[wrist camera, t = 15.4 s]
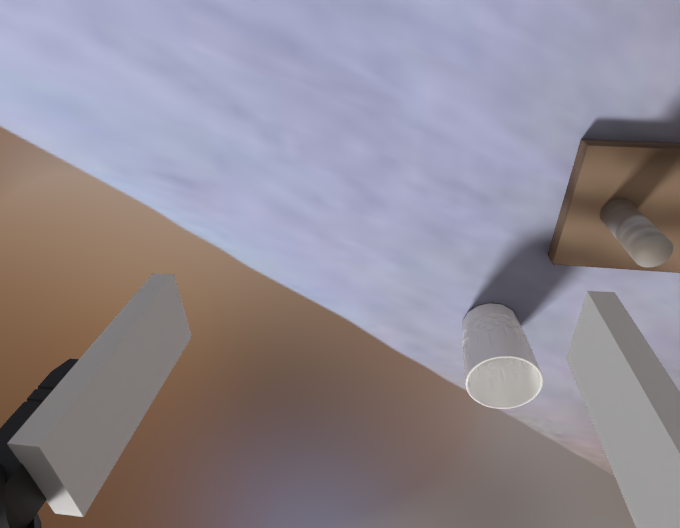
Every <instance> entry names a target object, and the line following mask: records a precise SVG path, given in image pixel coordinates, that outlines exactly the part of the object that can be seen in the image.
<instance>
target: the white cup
mask: <svg viewBox="0 0 680 528" xmlns="http://www.w3.org/2000/svg"><path fill="white" fill-rule="evenodd" d="M462 327H463V339H462V342H463V359H464V370H465V383H466V389H467V392H468V393H469V395H470V396H471V397H472V398H473V399H474V400H475V401H476V402H478V403H480V404H482V405H484V406H487V407H491V408H498V409H507V408H514V407H518V406H521V405H524V404H526V403H528V402H529V401H531V400H532V399H534V398H535V397H536V396H537V395H538V394H539V392H540V390H541V388H542V385H543V376H542V373H541V371H540V369H539V366H538V364H537V361H536V359H535V357H534V354H533V352H532V349H531V347H530V344H529V342H528V340H527V337H526V335H525V333H524V331H523V329H522V327H521V326H520V323H519V321H518V319H517V317H516V315H515V314H514V312H513V311H512V310H511V309H509V308H507V307H506V306H504V305H500V304H493V303H488V304H484V305H479V306H477V307H475V308H474V309H472V310H471V311H469V312H468V313H467V315H466V316H465V318H464V320H463V321H462Z"/></svg>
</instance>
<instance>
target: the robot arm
mask: <svg viewBox="0 0 680 528" xmlns="http://www.w3.org/2000/svg"><path fill="white" fill-rule="evenodd" d="M191 337H192V336H191V333H190V329H189V325H188V322H187V319H186V315H185V311H184V308H183V304H182V301H181V297H180V294H179V290H178V287H177V283H176V280H175V276H174V275H172V274H152V275H151V276H150V277H149V279H148V280H147V281H146V282H145V283H144V284H143V286H142V287H141V288H140V289H139V290H138V291H137V293H136V294H135V295H134V296H133V298H132V299H131V300H130V301H129V302H128V303H127V305H125V307H124V308H123V309H122V310H121V311H120V313H119V314H118V315H117V316H116V317H115V318H114V320H113V321H112V322H111V323H110V324H109V325H108V327H107V328H106V329H105V330H104V331H103V332H102V333H101V335H100V336H99V337H98V338H97V339H96V340H95V342H94V343H93V344H92V345H91V346H90V347H89V349H88V350H87V351H86V352H85V353H84V354H83V356H82V357H81V358H80V359H79V360H78V359H69V360H67V361H66V362H65V363H63V364H62V365H60V366H59V367H57V368H56V369H54V370H53V371H52V372H51V373H50V374H49V375H48V376H47V377H46V378H45V379H44V380H43V382H42V383H41V384H40V385H39V386H38V389H35V390H34V391H33V393H32V394H31V395H30V396H29V397H28V398H27V402H24V403H23V404H22V405H21V406H20V407H19V408H18V409H17V411H15V413H14V414H13V415H12V416H11V417H10V418H9V419H8V420H7V422H6V423H5V424H4V425H3V426H2V427H1V428H0V528H42V526H41V520H40V518H39V515H38V514H37V512H38V511H39V509H40V508H41V507H42V505H43V504H44V502H45V501H47V502H48V504H49V505H50V507H51V508H52V510H53V511H54V512H55V514H64V515H74V516H81V517H84V515H85V513H86V512H87V510H88V508H89V507H90V505H91V503H92V502H93V500H94V498H95V497H96V495H97V493H98V492H99V490H100V488H101V487H102V485H103V483H104V482H105V480H106V478H107V477H108V475H109V473H110V472H111V470H112V468H113V467H114V465H115V463H116V462H117V460H118V458H119V457H120V455H121V453H122V452H123V450H124V448H125V447H126V445H127V443H128V442H129V440H130V438H131V437H132V435H133V433H134V432H135V430H136V428H137V427H138V425H139V423H140V422H141V420H142V418H143V417H144V415H145V413H146V412H147V410H148V408H149V407H150V405H151V403H152V402H153V400H154V398H155V397H156V395H157V393H158V392H159V390H160V388H161V387H162V385H163V383H164V382H165V380H166V378H167V377H168V375H169V373H170V372H171V370H172V368H173V367H174V365H175V363H176V362H177V360H178V358H179V357H180V355H181V353H182V352H183V350H184V348H185V347H186V345H187V343H188V342H189V340H190V338H191ZM566 359H567V362H568V364H569V367H570V369H571V371H572V374H573V376H574V379H575V381H576V384H577V386H578V388H579V391H580V393H581V396H582V398H583V401H584V403H585V405H586V408H587V410H588V413H589V415H590V417H591V420H592V422H593V425H594V427H595V430H596V432H597V434H598V437H599V439H600V442H601V444H602V446H603V449H604V451H605V454H606V456H607V459H608V461H609V463H610V466H611V468H612V471H613V473H614V476H615V478H616V480H617V483H618V485H619V487H620V490H621V492H622V495H623V497H624V500H625V502H626V505H627V507H628V509H629V512H630V514H631V517H632V519H633V521H634V524H635V526H636V528H680V392H679V390H678V389H677V387H676V386H675V384H674V383H673V381H672V379H671V378H670V376H669V375H668V373H667V372H666V370H665V369H664V367H663V366H662V364H661V363H660V361H659V360H658V358H657V357H656V355H655V353H654V352H653V350H652V349H651V347H650V346H649V344H648V343H647V341H646V340H645V338H644V337H643V335H642V334H641V332H640V330H639V329H638V327H637V326H636V324H635V323H634V321H633V320H632V318H631V317H630V315H629V314H628V312H627V311H626V309H625V308H624V306H623V304H622V303H621V301H620V300H619V298H618V297H617V295H616V294H615V292H594V291H587V294H586V297H585V300H584V303H583V306H582V310H581V313H580V316H579V319H578V322H577V326H576V329H575V332H574V335H573V338H572V341H571V345H570V348H569V351H568V354H567V357H566Z"/></svg>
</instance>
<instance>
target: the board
mask: <svg viewBox="0 0 680 528" xmlns="http://www.w3.org/2000/svg"><path fill="white" fill-rule="evenodd" d="M548 256H549V258H550V260H551V262H552V264H557V265H572V266H586V267H601V268H616V269H630V270H645V271H660V272H675V273H680V143H663V142H637V141H612V140H587V139H581V142H580V145H579V148H578V152H577V155H576V159H575V162H574V166H573V169H572V173H571V176H570V180H569V183H568V186H567V190H566V193H565V197H564V200H563V204H562V207H561V211H560V214H559V218H558V221H557V225H556V228H555V231H554V235H553V238H552V242H551V245H550V249H549V252H548Z"/></svg>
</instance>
